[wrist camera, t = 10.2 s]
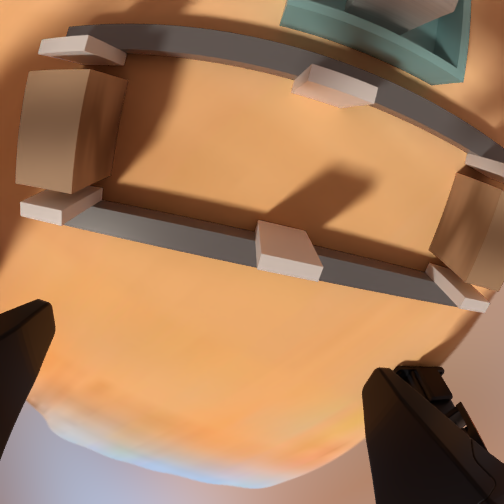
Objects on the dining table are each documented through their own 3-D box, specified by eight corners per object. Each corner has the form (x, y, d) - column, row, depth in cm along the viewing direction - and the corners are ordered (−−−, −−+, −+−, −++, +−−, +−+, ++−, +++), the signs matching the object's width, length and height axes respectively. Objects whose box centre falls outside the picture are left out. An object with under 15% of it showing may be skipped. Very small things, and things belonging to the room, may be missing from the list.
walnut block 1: (111, 175, 17) (71, 194, 13) (61, 166, 17) (15, 183, 12) (129, 80, 15) (90, 69, 10) (75, 77, 14) (29, 71, 10)
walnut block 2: (462, 260, 20) (498, 291, 15) (428, 249, 19) (465, 282, 15) (488, 190, 18) (531, 210, 13) (455, 172, 17) (502, 189, 13)
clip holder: (450, 297, 21) (481, 332, 16) (53, 212, 18) (10, 239, 13) (503, 154, 16) (548, 168, 12) (80, 31, 13) (37, 14, 8)
